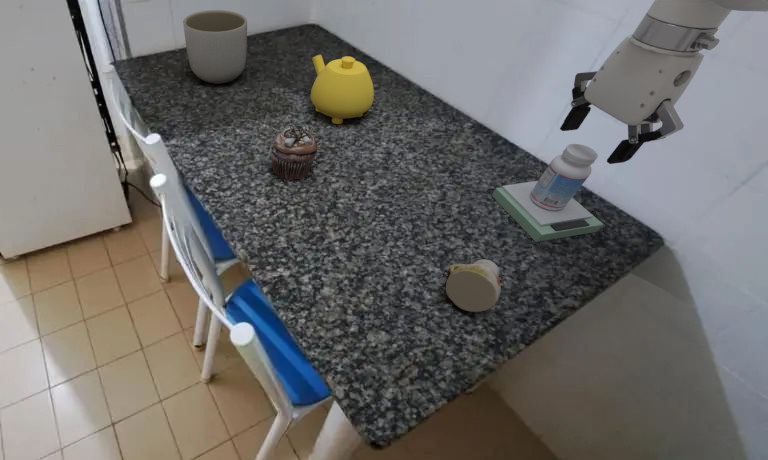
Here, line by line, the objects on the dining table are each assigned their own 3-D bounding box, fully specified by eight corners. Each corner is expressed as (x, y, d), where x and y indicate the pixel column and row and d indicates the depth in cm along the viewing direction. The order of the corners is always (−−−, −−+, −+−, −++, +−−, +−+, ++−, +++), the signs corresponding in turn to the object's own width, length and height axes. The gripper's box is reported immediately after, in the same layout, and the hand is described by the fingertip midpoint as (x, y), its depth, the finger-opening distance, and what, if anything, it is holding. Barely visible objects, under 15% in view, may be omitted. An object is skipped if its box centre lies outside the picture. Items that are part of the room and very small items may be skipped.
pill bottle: (571, 204, 73) (611, 155, 65) (551, 215, 71) (590, 166, 63) (541, 186, 77) (575, 137, 69) (521, 196, 75) (554, 147, 67)
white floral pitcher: (504, 282, 64) (534, 273, 55) (461, 322, 64) (484, 319, 54) (468, 250, 66) (490, 235, 57) (426, 288, 66) (442, 280, 57)
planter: (182, 87, 109) (175, 29, 98) (197, 62, 121) (192, 8, 110) (242, 92, 108) (241, 34, 97) (251, 66, 120) (251, 11, 109)
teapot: (287, 99, 106) (291, 47, 96) (332, 85, 111) (340, 35, 101) (334, 134, 94) (344, 78, 84) (382, 117, 100) (396, 63, 90)
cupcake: (303, 152, 88) (308, 112, 81) (320, 178, 82) (327, 137, 75) (263, 159, 87) (264, 118, 79) (277, 186, 80) (279, 145, 73)
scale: (596, 231, 72) (605, 222, 70) (535, 242, 70) (543, 232, 68) (546, 187, 81) (553, 177, 79) (491, 195, 79) (497, 185, 77)
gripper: (764, 57, 46) (657, 173, 59) (636, 12, 58) (569, 116, 70) (714, 62, 45) (615, 179, 57) (594, 15, 57) (533, 120, 69)
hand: (590, 145), depth 64 cm, fingers open, 9 cm apart
